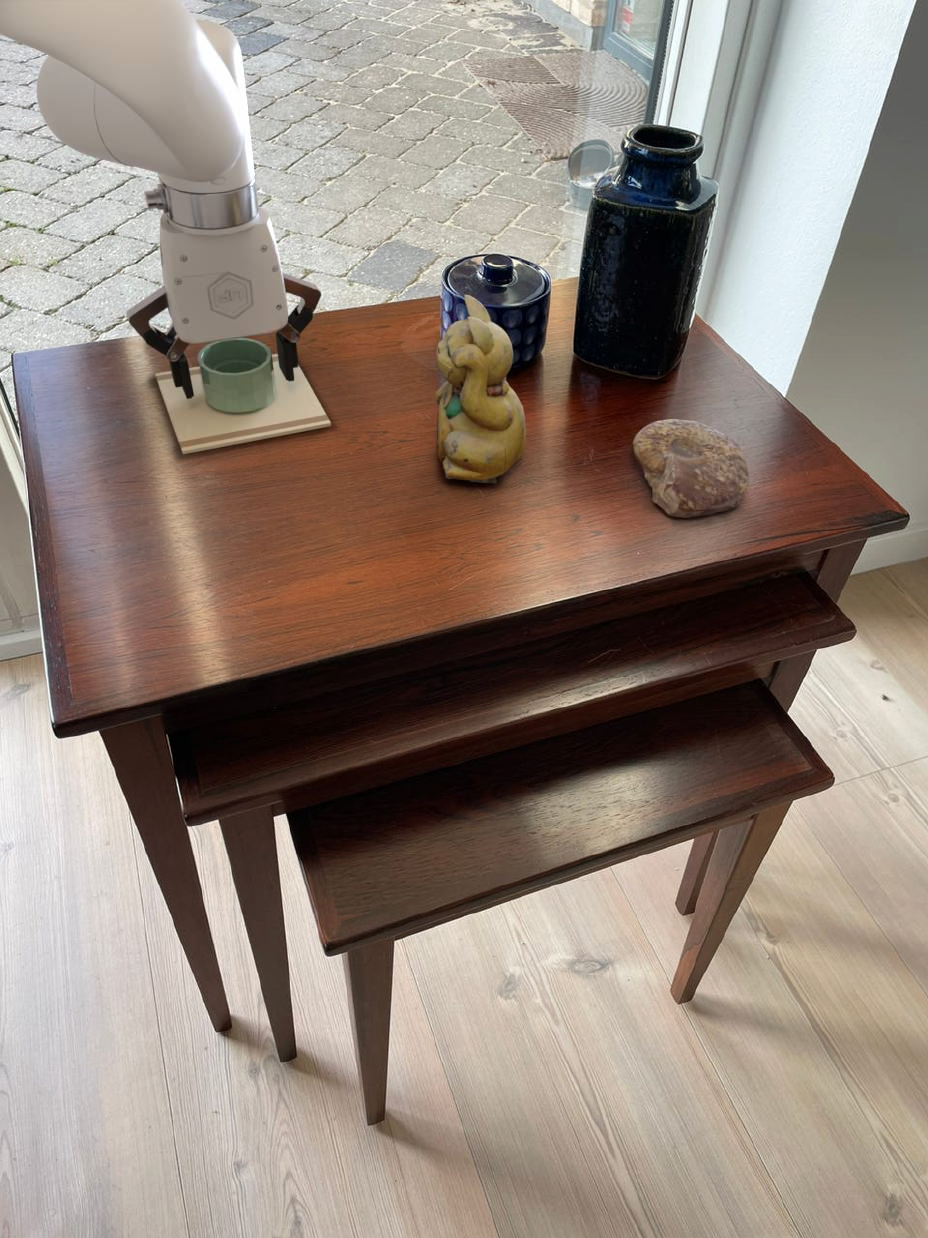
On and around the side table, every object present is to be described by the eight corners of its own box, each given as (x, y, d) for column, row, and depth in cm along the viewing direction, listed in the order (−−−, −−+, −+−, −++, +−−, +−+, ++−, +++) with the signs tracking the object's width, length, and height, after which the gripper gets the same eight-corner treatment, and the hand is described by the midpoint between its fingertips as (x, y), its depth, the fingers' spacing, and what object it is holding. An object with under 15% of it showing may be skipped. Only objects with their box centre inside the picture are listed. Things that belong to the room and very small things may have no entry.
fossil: (764, 517, 77) (668, 473, 74) (726, 553, 81) (633, 512, 77) (743, 425, 85) (656, 382, 82) (709, 461, 89) (625, 421, 86)
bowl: (213, 422, 84) (206, 380, 81) (198, 385, 89) (190, 343, 85) (283, 409, 87) (279, 367, 83) (266, 374, 91) (261, 333, 88)
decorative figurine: (428, 433, 86) (432, 282, 75) (513, 431, 87) (529, 281, 76) (439, 496, 79) (445, 340, 68) (530, 493, 80) (551, 339, 69)
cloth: (183, 454, 81) (182, 450, 81) (155, 376, 90) (154, 373, 90) (331, 426, 86) (331, 422, 85) (291, 354, 94) (291, 351, 94)
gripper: (109, 230, 69) (153, 419, 81) (325, 206, 74) (336, 387, 87) (96, 193, 74) (139, 377, 86) (300, 173, 79) (313, 349, 91)
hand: (238, 382), depth 86 cm, fingers open, 9 cm apart
